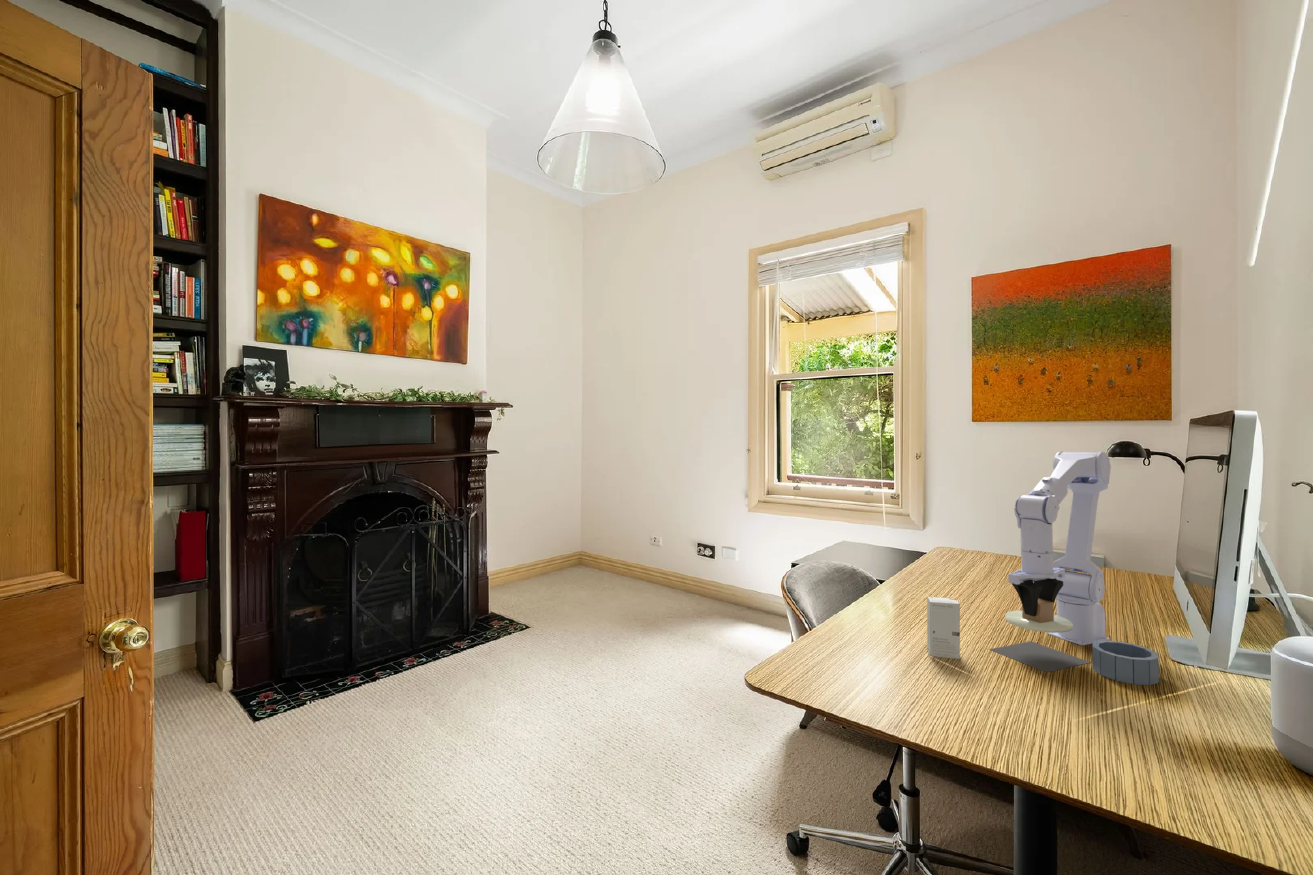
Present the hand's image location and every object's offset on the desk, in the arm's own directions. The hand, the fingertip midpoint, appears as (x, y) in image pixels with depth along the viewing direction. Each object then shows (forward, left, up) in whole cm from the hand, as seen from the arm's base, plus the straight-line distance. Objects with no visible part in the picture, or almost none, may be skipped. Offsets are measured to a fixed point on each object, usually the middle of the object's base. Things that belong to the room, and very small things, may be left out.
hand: (1037, 613), depth 120 cm
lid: (0, 0, -2) cm, 2 cm away
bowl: (-7, +12, -9) cm, 17 cm away
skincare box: (+18, -9, -10) cm, 22 cm away
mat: (0, 0, -9) cm, 9 cm away
